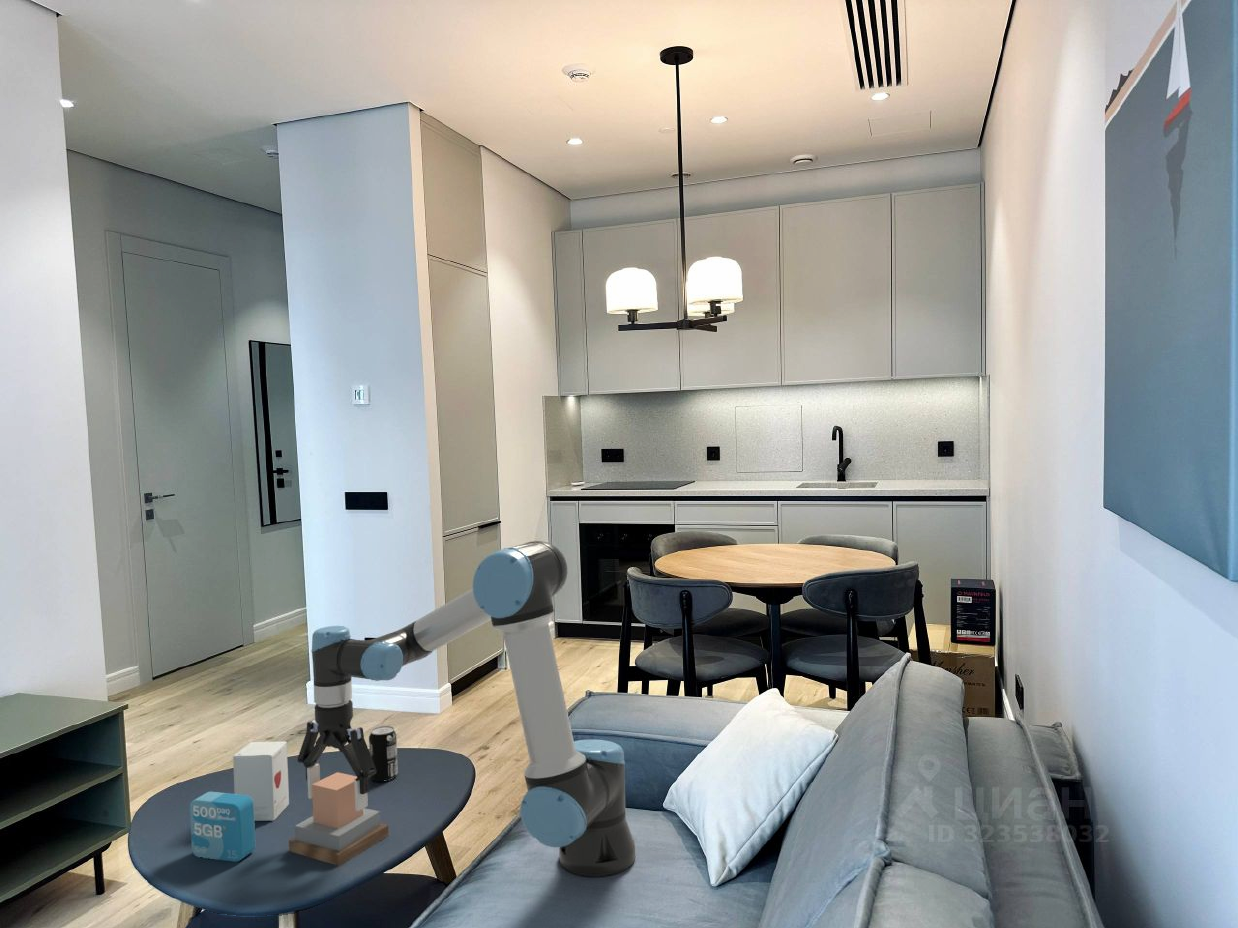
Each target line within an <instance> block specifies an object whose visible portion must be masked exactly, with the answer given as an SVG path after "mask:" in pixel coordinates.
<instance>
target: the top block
mask: <svg viewBox="0 0 1238 928" xmlns="http://www.w3.org/2000/svg"><path fill="white" fill-rule="evenodd" d="M380 823H381V811H379V810H375V809H371V808H370V809H369V808H367V807H365V808H363V815H362V816H360V817H359V818H357V819H355V820H353V821H352V822H350V823H348V824H346V825H344V826H343V827H341V828H339V829H337V828H333V827H329V826H325V825H322V824H318V823H314V821H313V815H312V816H310V817H308V818H307V819H305V820H303V821H301V822H299V823H297V824H296V825H294V837H295V840H297V841H301V842H305V843H309V844H313V845H317V846H321V847H326V848H330V849H334V850H338V851H341V850H342V849H344V848H345V847H347V846H349V845H350V844H352V843H353V842H355V841H356V840H358V839H360V838H361V837H363V836H364V835H366V834H367V833H369V832H371V831H372V830H374V829H375V828H377V827H379V826H380Z"/></svg>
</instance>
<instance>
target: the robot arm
mask: <svg viewBox="0 0 1238 928" xmlns="http://www.w3.org/2000/svg"><path fill="white" fill-rule="evenodd" d="M567 577H568V564H567V560H566V558H565V556H564V554H563V553H562V552H561V550H560V549H559V548H558V547H556V546H555V545H553V544H552V543H550V542H546V541H543V540H535V541H529V542H525V543H522V544H518V545H514V546H510V547H504V548H502V549H498V550H497V551H495V552H492V553H490V554H488V556H486V557H484V558H483V560H481V561H480V562H479V564H478V565H477V568H476V569H475V572H474V574H473V579H472V588H471V589H468V591H466V592H464V593H462V594H460V595H459V596H457V597H455V598H454V599H452V600H450V601H448V602H447V603H445V604H443V605H442V606H440V607H438V608H436V609H434V610H432V611H431V612H428V613H427V614H426V615H424V616H422V617H420V618H418V619H417V620H415V621H413V622H411V623H410V624H408V625H406V626H404V627H403V628H400V629H398V630H395V631H391V632H389V633H387V634H384V635H381V636H378V637H375V638H373V639H368V640H367V639H366V640H364V639H354V638H351V632H350V629H349V628H348V627H346V626H344V625H331V626H324V627H321V628H318V629H316V630H315V631H314V632H313V633H312V636H311V637H312V639H311V651H310V652H311V658H312V670H313V671H312V673H313V703H315V705H314V719H313V720H311V721H308V722H307V723H306V733H305V735H304V739H303V741H302V744H301V747H300V750H299V752H298V753H299V754H298V756H297V762H298V763H299V764H300V763H302V765H303V766H304V767H305V779H306V780H305V781H306V782H307V797H308V798H307V799H310V800H311V799H312V800H313V797H312V784H314V783H316V782H318V781H320V780H321V769H320V768H321V767H320V763H319V759H320V757H321V756H322V754H323V753H324V751H325V750H326V748H327V747H328V748H329V747H330V748H331V747H332V748H334V749H337V750H339V752H340V753H343V755H344V757H345V759H346V760H347V762H348V764H349V766H350V767H351V769H352V771H353V772H354V773H353V774H354V775H355V776H357V778H356V779H354V785H355V809H356V811H359V810H361V809H363V808H367V807H368V806H369V804H368V803H369V801H368V800H369V799H368V793H369V792H370V781H369V778H371V776H372V775H374V774H376V772H377V771H376V768H375V765H374V763H373V760H372V757H371V755H370V752H369V746H368V745H367V742H366V740H365V736H364V735H365V734H364V729H363V727H361V726H360V727H357V728H352V725H351V721H352V719H353V718H354V708H353V707H354V705H353V703H354V702H353V701H352V698H353V691H352V690H353V689H352V688H353V686H352V684H353V683H352V678H358V679H363V680H364V679H366V680H371V681H375V682H377V681H378V682H379V681H391V680H393V679H395V678H396V677H397V675H398V673H400V672H401V670H402V667H404V666H406V665H410V664H411V663H414V662H417V661H420V660H422V659H424V658H426V657H428V656H429V655H431V654H432V653H433V652H434V651H436V650H439V649H440V648H442V647H444V646H445V645H448V644H449V643H450V642H453V641H454V640H457V639H458V638H460V637H462V636H464V635H465V634H468V633H469V632H471V631H473V630H475V629H477V628H479V627H480V626H483V624H486V623H488V622H490V621H491V625H492V628H493V629H495V630H497V631H499V632H500V633H501V634H502V637H503V642H504V645H505V650H506V654H507V659H508V660H507V661H508V665H509V669H510V673H511V678H512V683H513V689H514V692H515V697H516V702H517V706H518V710H519V715H520V721H521V725H522V729H523V735H524V738H525V744H526V749H527V753H528V758H529V762H528V764H527V766H526V767H525V769H524V770H523V771H524V773H523V775H524V779H525V783H526V790H527V791H526V793H525V795H524V796H523V798H522V800H521V802H520V806H519V811H520V812H519V813H520V819H521V821H522V822H521V823H522V824H523V827H524V829H525V830H526V831H527V832H528V834H529V835H530V836H531V837H532V838H533V839H536V840H537V842H538V843H540V844H542V845H544V846H547V847H551V848H559V849H558V850H559V851H558V852H559V853H558V855H559V863H560V865H561V867H563V868H564V869H565V870H566V871H568V872H570V873H572V874H575V875H577V876H582V877H590V878H591V877H594V878H596V877H605V876H606V877H607V876H611V875H615V874H618V873H621V872H623V871H625V870H627V869H629V868H630V867H631V866H632V865H633V864H634V862H635V860H636V844H635V841H634V839H633V836H632V832H631V830H630V826H629V824H628V821H627V817H626V815H627V814H626V779H625V778H626V774H625V773H626V772H625V771H626V770H625V768H626V767H625V765H626V761H625V756H624V755H625V754H624V749H623V748H622V747H621V745H619V744H618V743H616V742H614V741H610V740H604V739H580V740H579V739H578V740H574V736H573V731H572V727H571V722H570V718H569V714H568V709H567V705H566V700H565V699H566V698H565V694H564V690H563V685H562V681H561V676H560V672H559V667H558V663H557V657H556V653H555V649H554V644H553V639H552V635H551V630H550V625H549V622H550V620H551V619H552V617H553V615H554V614H555V609H554V604H553V600H552V597H554V596H555V595H557V594H558V593H559V592H560V591H561V590H562V589H563V587H564V585H565V584H566V580H567V579H568V578H567Z"/></svg>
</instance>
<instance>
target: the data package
mask: <svg viewBox="0 0 1238 928" xmlns="http://www.w3.org/2000/svg"><path fill="white" fill-rule="evenodd" d="M189 815H190V816H189V817H190V818H189V819H190V839H191V851H192V854H193V855H194V856H195V857H197V858H200V857H203V858H202V859H208V858H209V859H210V860H218V861H223V862H232V863H233V862H234V863H237V862H240V861H241V860H243V859H244V858H246V857H247V856H249V854H251V853H252V852H254V850H255V849H256V828H255V827H256V826H255V825H256V824H255V821H254V803H253V800H252V798H251V797H250V796H248V795H240V794H234V793H228V792H219V791H207V792H206V793H204V794H202V795H200V796H199V797H197V798H195V799H194V800H193V799H192V801H191V802H190V804H189ZM209 859H208V860H209Z"/></svg>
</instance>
